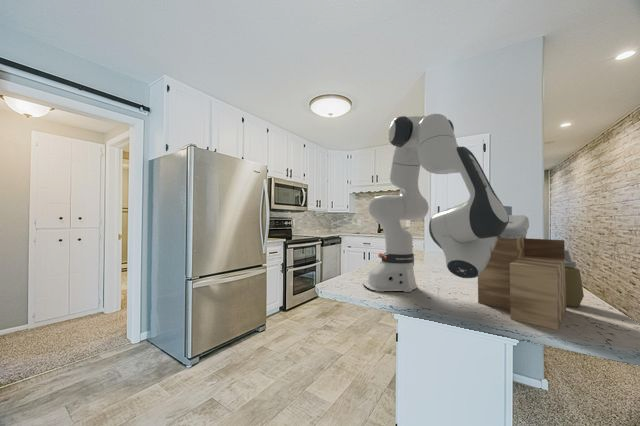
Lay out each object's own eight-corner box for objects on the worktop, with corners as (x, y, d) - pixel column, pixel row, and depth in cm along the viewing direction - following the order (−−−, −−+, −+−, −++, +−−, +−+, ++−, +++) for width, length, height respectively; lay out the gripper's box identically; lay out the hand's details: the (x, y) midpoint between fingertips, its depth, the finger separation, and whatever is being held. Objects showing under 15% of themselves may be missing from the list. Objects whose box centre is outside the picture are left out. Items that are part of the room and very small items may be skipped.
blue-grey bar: (496, 221, 78) (496, 205, 78) (480, 221, 81) (479, 205, 81) (511, 220, 91) (511, 206, 91) (496, 220, 94) (496, 206, 94)
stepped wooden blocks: (557, 330, 67) (555, 230, 67) (468, 308, 83) (467, 228, 83) (566, 308, 82) (564, 227, 83) (490, 294, 98) (489, 225, 98)
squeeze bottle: (563, 299, 91) (562, 248, 91) (591, 307, 83) (590, 251, 83) (544, 301, 89) (543, 249, 90) (570, 309, 81) (569, 252, 82)
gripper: (523, 228, 65) (532, 202, 73) (441, 225, 80) (456, 204, 88) (526, 248, 67) (534, 221, 75) (445, 242, 83) (459, 220, 91)
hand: (491, 212), depth 82 cm, fingers closed on blue-grey bar, 4 cm apart
